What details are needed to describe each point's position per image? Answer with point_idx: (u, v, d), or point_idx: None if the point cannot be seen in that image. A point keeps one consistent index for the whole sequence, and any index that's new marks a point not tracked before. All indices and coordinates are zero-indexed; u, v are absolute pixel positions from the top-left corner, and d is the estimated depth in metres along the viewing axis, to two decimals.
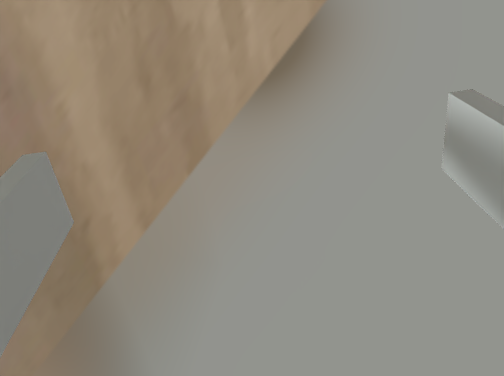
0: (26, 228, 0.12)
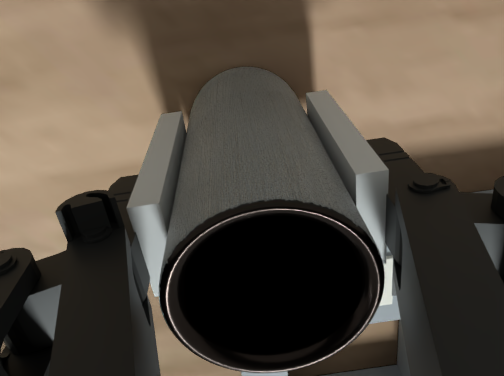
0: None
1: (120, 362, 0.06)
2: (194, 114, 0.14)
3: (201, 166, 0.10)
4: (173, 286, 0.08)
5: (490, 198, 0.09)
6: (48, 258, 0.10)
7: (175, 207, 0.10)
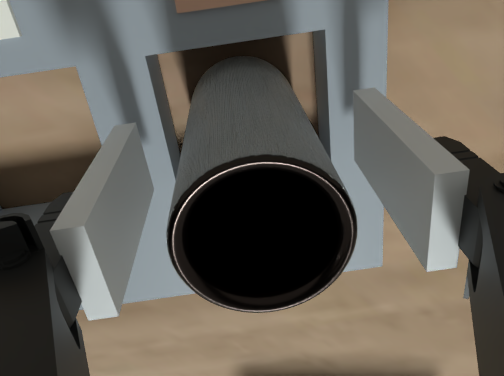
0: (130, 187, 0.13)
1: None
2: (195, 97, 0.16)
3: (202, 135, 0.11)
4: (178, 231, 0.10)
5: None
6: None
7: (179, 170, 0.11)
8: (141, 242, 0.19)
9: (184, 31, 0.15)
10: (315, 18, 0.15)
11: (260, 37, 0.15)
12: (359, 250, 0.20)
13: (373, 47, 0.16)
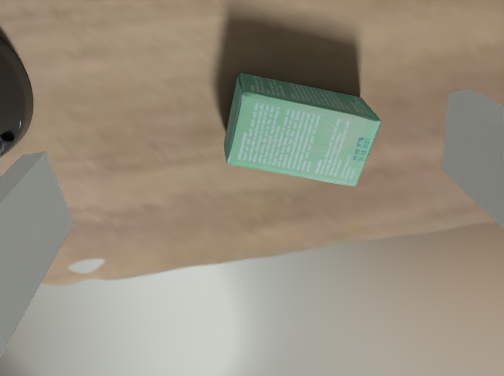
0: (26, 228, 0.12)
1: None
2: None
3: None
4: None
5: None
6: None
7: None
8: None
9: None
10: None
11: None
12: None
13: None
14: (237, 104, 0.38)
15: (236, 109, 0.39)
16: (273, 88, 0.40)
